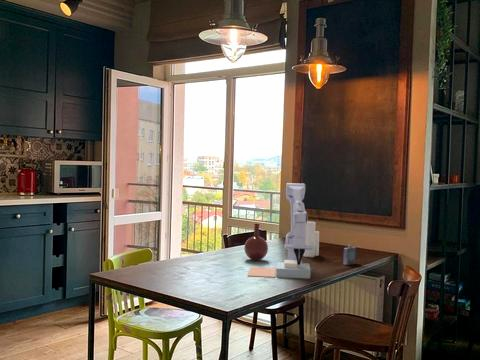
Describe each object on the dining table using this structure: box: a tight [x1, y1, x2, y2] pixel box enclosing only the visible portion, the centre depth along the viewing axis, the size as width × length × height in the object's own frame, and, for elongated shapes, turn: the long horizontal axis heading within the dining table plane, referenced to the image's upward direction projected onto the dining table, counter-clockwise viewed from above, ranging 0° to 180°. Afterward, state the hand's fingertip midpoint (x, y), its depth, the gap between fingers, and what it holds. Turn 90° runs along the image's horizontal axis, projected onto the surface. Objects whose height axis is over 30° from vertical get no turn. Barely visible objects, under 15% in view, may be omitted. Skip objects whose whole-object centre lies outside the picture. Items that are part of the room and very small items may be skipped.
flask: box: [342, 243, 357, 266], centre depth 262 cm, size 9×3×11 cm, turn 129°
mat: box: [247, 266, 277, 279], centre depth 236 cm, size 18×13×1 cm
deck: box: [275, 261, 311, 279], centre depth 234 cm, size 15×16×4 cm
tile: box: [283, 259, 297, 268], centre depth 234 cm, size 8×6×2 cm
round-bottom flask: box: [243, 223, 269, 261], centre depth 266 cm, size 13×13×20 cm
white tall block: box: [303, 220, 320, 258], centre depth 284 cm, size 11×7×20 cm, turn 146°
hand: (298, 264), depth 234 cm, fingers closed
